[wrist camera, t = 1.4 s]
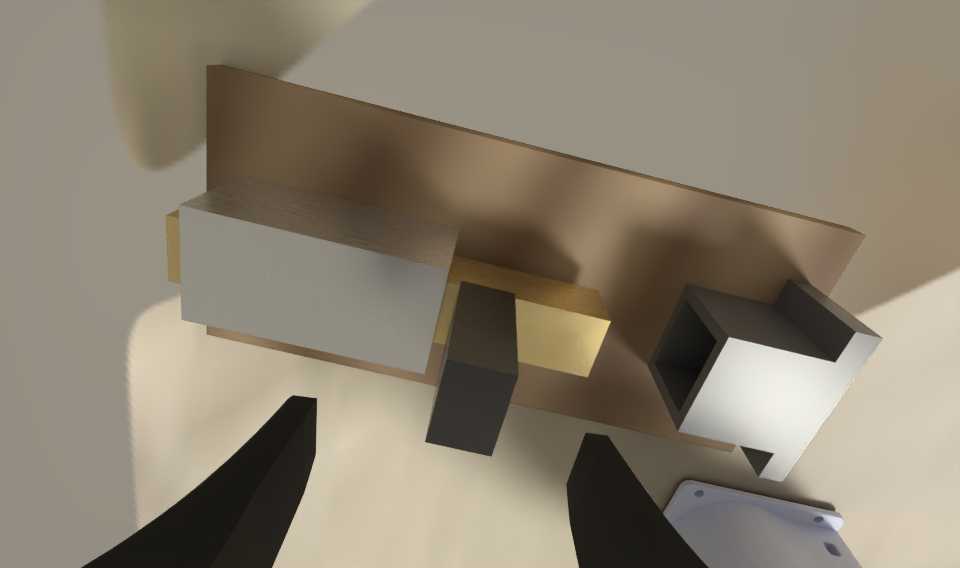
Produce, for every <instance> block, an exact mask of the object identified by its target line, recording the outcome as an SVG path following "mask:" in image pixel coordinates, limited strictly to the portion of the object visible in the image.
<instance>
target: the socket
mask: <svg viewBox="0 0 960 568" xmlns="http://www.w3.org/2000/svg"><path fill="white" fill-rule="evenodd" d="M882 339H883V338H882V337H880V336H879V335H878V334H876V333H875V332H874V331H872V330H871V329H870V328H868V327H867V326H866V325H864V324H863V323H862V322H860V321H859V320H858V319H856V318H855V317H854V316H852V315H851V314H850V313H848V312H847V311H846V310H844V309H843V308H842V307H840V306H839V305H838V304H836V303H835V302H833V301H832V300H831V299H830V298H829V297H827V296H826V295H825V294H823V293H822V292H821V291H819V290H818V289H817V288H815V287H814V286H813V285H811V284H809V283H805V282H801V281H797V280H793V279H788V281H787V282H786V284H785V286H784V288H783V289H782V291H781V293H780V295H779V296H778V298H777V300H776V302H775V303H774V305H772V304H768V303H764V302H760V301H756V300H752V299H748V298H744V297H740V296H736V295H732V294H727V293H723V292H719V291H715V290H711V289H707V288H703V287H699V286H695V285H691V284H686V286H685V288H684V290H683V292H682V294H681V296H680V298H679V301H678V303H677V305H676V307H675V309H674V311H673V313H672V315H671V317H670V320H669V322H668V324H667V326H666V328H665V330H664V332H663V334H662V336H661V339H660V341H659V343H658V345H657V347H656V349H655V351H654V353H653V356H652V358H651V360H650V362H649V364H648V368H649V370H650V372H651V374H652V377H653V379H654V381H655V383H656V385H657V387H658V390H659V392H660V394H661V396H662V398H663V401H664V403H665V405H666V407H667V409H668V412H669V414H670V416H671V418H672V420H673V422H674V425H675V427H676V429H677V431H678V432H682V433H686V434H691V435H695V436H700V437H704V438H708V439H713V440H717V441H722V442H726V443H731V444H735V445H739V446H740V447H741V448H742V450H743V452H744V453H745V455H746V457H747V458H748V460H749V462H750V463H751V465H752V467H753V468H754V470H755V472H756V473H757V475H758V477H761V478H766V479H770V480H775V481H779V482H782V481H783V480H784V478H785V477H786V475H787V474H788V473H789V471H790V470H791V468H792V467H793V465H794V464H795V463H796V461H797V460H798V458H799V457H800V456H801V454H802V453H803V451H804V450H805V448H806V447H807V446H808V444H809V443H810V441H811V440H812V439H813V437H814V436H815V434H816V433H817V431H818V430H819V429H820V427H821V426H822V424H823V423H824V422H825V420H826V419H827V417H828V416H829V414H830V413H831V412H832V410H833V409H834V407H835V406H836V404H837V403H838V402H839V400H840V399H841V397H842V396H843V395H844V393H845V392H846V390H847V389H848V387H849V386H850V385H851V383H852V382H853V380H854V379H855V378H856V376H857V375H858V373H859V372H860V370H861V369H862V368H863V366H864V365H865V363H866V362H867V361H868V359H869V358H870V356H871V355H872V353H873V352H874V351H875V349H876V348H877V346H878V345H879V344H880V342H881V341H882Z"/></svg>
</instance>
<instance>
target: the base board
mask: <svg viewBox="0 0 960 568" xmlns="http://www.w3.org/2000/svg"><path fill="white" fill-rule="evenodd" d="M242 175H247V176H251V177H255V178H259V179H263V180H267V181H272V182H276V183H280V184H284V185H288V186H292V187H296V188H300V189H304V190H308V191H312V192H316V193H320V194H324V195H329V196H333V197H337V198H341V199H345V200H349V201H353V202H357V203H361V204H365V205H369V206H373V207H377V208H381V209H385V210H390V211H394V212H398V213H402V214H406V215H410V216H414V217H418V218H422V219H426V220H430V221H434V222H438V223H442V224H447V225H451V226H455V227H459V228H460V229H459V234H458V238H457V242H456V246H455V250H454V256H458V257H463V258H467V259H471V260H475V261H479V262H483V263H487V264H492V265H496V266H500V267H504V268H508V269H512V270H516V271H520V272H525V273H529V274H533V275H537V276H541V277H545V278H549V279H554V280H558V281H562V282H566V283H570V284H574V285H578V286H582V287H587V288H591V289H595V290H599V293H600V295H601V298H602V300H603V303H604V305H605V308H606V310H607V313H608V316H609V318H610V321H611V322H610V324H609V327H608V329H607V332H606V334H605V337H604V339H603V341H602V344H601V346H600V349H599V351H598V353H597V356H596V358H595V361H594V363H593V366H592V368H591V370H590V373H589V375H588V377H584V376H579V375H575V374H570V373H566V372H562V371H557V370H553V369H549V368H544V367H540V366H536V365H531V364H527V363H523V362H518V371H519V376H518V379H517V382H516V385H515V388H514V391H513V394H512V397H511V400H510V403H514V404H519V405H523V406H528V407H532V408H537V409H541V410H545V411H550V412H554V413H559V414H563V415H568V416H572V417H577V418H581V419H585V420H590V421H594V422H599V423H603V424H608V425H612V426H617V427H621V428H626V429H630V430H634V431H639V432H643V433H648V434H652V435H657V436H661V437H666V438H670V439H674V440H679V441H683V442H688V443H692V444H697V445H701V446H706V447H710V448H715V449H719V450H723V451H728V452H732V450H733V449H734V447H735V446H736V445H735V444H731V443H726V442H722V441H717V440H713V439H708V438H704V437H700V436H695V435H691V434H686V433H682V432H678V431H677V429H676V427H675V425H674V422H673V420H672V418H671V416H670V414H669V412H668V409H667V407H666V405H665V403H664V401H663V398H662V396H661V394H660V392H659V390H658V387H657V385H656V383H655V381H654V379H653V377H652V374H651V372H650V370H649V368H648V364H649V362H650V360H651V358H652V356H653V353H654V351H655V349H656V347H657V345H658V343H659V341H660V339H661V336H662V334H663V332H664V330H665V328H666V326H667V324H668V322H669V320H670V317H671V315H672V313H673V311H674V309H675V307H676V305H677V303H678V301H679V298H680V296H681V294H682V292H683V290H684V288H685V286H686V284H691V285H695V286H699V287H703V288H707V289H711V290H715V291H719V292H723V293H727V294H732V295H736V296H740V297H744V298H748V299H752V300H756V301H760V302H764V303H768V304H772V305H774V303H775V302H776V300H777V298H778V296H779V295H780V293H781V291H782V289H783V288H784V286H785V284H786V282H787V281H788V279H793V280H797V281H801V282H805V283H809V284H811V285H813V286H814V287H815V288H817V289H818V290H819V291H821V292H822V293H823V294H825V295H826V296H827V297H828V296H829V294H830V293H831V291H832V289H833V288H834V286H835V285H836V283H837V281H838V280H839V278H840V277H841V275H842V273H843V272H844V270H845V269H846V266H847V265H848V264H849V262H850V260H851V259H852V257H853V256H854V254H855V252H856V251H857V249H858V248H859V246H860V244H861V243H862V241H863V240H864V238H865V236H866V235H863V234H862V233H860V232H858V231H856V230H854V229H852V228H849V227H845V226H842V225H838V224H834V223H830V222H826V221H822V220H818V219H815V218H811V217H807V216H803V215H799V214H795V213H792V212H788V211H784V210H779V209H776V208H772V207H768V206H764V205H761V204H756V203H753V202H749V201H745V200H741V199H737V198H733V197H730V196H726V195H721V194H718V193H714V192H710V191H706V190H703V189H699V188H695V187H691V186H687V185H683V184H679V183H676V182H672V181H667V180H664V179H660V178H656V177H652V176H648V175H645V174H641V173H636V172H633V171H629V170H625V169H621V168H618V167H614V166H609V165H605V164H602V163H598V162H594V161H590V160H586V159H583V158H578V157H575V156H571V155H567V154H563V153H559V152H556V151H552V150H548V149H544V148H540V147H536V146H532V145H529V144H525V143H521V142H517V141H513V140H509V139H505V138H501V137H498V136H494V135H490V134H486V133H482V132H478V131H474V130H470V129H466V128H463V127H459V126H455V125H451V124H447V123H443V122H440V121H436V120H432V119H428V118H424V117H420V116H416V115H412V114H409V113H404V112H401V111H397V110H393V109H389V108H385V107H382V106H378V105H374V104H370V103H366V102H362V101H358V100H355V99H351V98H347V97H343V96H339V95H335V94H331V93H328V92H324V91H320V90H316V89H312V88H308V87H304V86H300V85H296V84H293V83H289V82H285V81H281V80H277V79H273V78H270V77H266V76H262V75H258V74H254V73H250V72H246V71H242V70H239V69H235V68H231V67H227V66H223V65H207V192H208V191H210V190H212V189H214V188H217V187H219V186H221V185H223V184H225V183H227V182H229V181H231V180H234V179H236V178H238V177H240V176H242ZM207 335H212V336H216V337H220V338H225V339H229V340H234V341H238V342H243V343H247V344H252V345H256V346H261V347H265V348H269V349H274V350H278V351H283V352H287V353H292V354H296V355H301V356H305V357H309V358H314V359H318V360H323V361H327V362H332V363H336V364H341V365H345V366H350V367H354V368H358V369H363V370H367V371H372V372H376V373H381V374H385V375H390V376H394V377H399V378H403V379H407V380H412V381H416V382H421V383H425V384H430V385H434V386H437V381H438V376H439V371H440V366H441V362H442V357H443V352H444V347H445V344H440V343H436V342H432V346H431V350H430V354H429V358H428V362H427V366H426V370H425V374H421V373H416V372H412V371H407V370H403V369H398V368H394V367H390V366H385V365H381V364H376V363H372V362H367V361H363V360H359V359H354V358H350V357H345V356H341V355H336V354H332V353H328V352H323V351H319V350H314V349H310V348H305V347H301V346H297V345H292V344H288V343H283V342H279V341H274V340H270V339H266V338H261V337H257V336H252V335H248V334H243V333H239V332H235V331H230V330H226V329H221V328H217V327H212V326H208V325H207Z"/></svg>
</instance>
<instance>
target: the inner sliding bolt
mask: <svg viewBox="0 0 960 568" xmlns="http://www.w3.org/2000/svg"><path fill="white" fill-rule="evenodd" d="M166 230H167V256H168V281H171V282H176V283H180V284H181V271H180V232H179V209H178V210H176V211H174V212H172V213H170V214H168V215H166ZM610 322H611V321H610V318H609V316H608V313H607V310H606V308H605V305H604V303H603V300H602V298H601V295H600V293H599V290H595V289H591V288H587V287H582V286H578V285H574V284H570V283H566V282H562V281H558V280H554V279H549V278H545V277H541V276H537V275H533V274H529V273H525V272H520V271H516V270H512V269H508V268H504V267H500V266H496V265H492V264H487V263H483V262H479V261H475V260H471V259H467V258H463V257H458V256H454V255H453V258H452V262H451V266H450V269H449V273H448V277H447V282H446V286H445V290H444V294H443V299H442V303H441V307H440V311H439V316H438V320H437V324H436V328H435V332H434V337H433V341H432V342H436V343H440V344H445V347H444V352H443V357H442V362H441V366H440V371H439V376H438V381H437V386H436V391H435V396H434V401H433V406H432V411H431V416H430V421H429V426H428V430H427V435H426V440H425V442H427V443H432V444H436V445H441V446H446V447H450V448H455V449H459V450H464V451H469V452H473V453H478V454H483V455H487V456H492V453H493V450H494V447H495V444H496V441H497V438H498V435H499V432H500V429H501V426H502V424H503V421H504V418H505V415H506V412H507V409H508V406H509V403H510V400H511V397H512V394H513V391H514V388H515V385H516V382H517V379H518V376H519V371H518V362H523V363H527V364H531V365H536V366H540V367H544V368H549V369H553V370H557V371H562V372H566V373H570V374H575V375H579V376H584V377H588V375H589V373H590V370H591V368H592V366H593V363H594V361H595V358H596V356H597V353H598V351H599V349H600V346H601V344H602V341H603V339H604V337H605V334H606V332H607V329H608V327H609V324H610Z"/></svg>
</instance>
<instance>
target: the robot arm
mask: <svg viewBox="0 0 960 568" xmlns="http://www.w3.org/2000/svg"><path fill="white" fill-rule="evenodd" d="M316 418H317V398H310V397H302V396H294V395H293V396H291V397H290V398H288V400H287V401H286V402H285V403H284V404H283V405H282V406H281V407H280V408H279V409H278V411H277V412H276V413H275V414H274V415H273V416H272V417H271V418H270V419H269V420H268V421H267V422H266V423H265V424H264V425H263V426H262V427H261V428H260V429H259V430H258V431H257V433H256V434H255V435H253V436H252V437H251V438H250V439H249V440H248V441H247V442H246V443H245V444H244V445H243V446H242V447H241V448H240V449H239V450H238V451H237V452H236V453H235V454H234V455H233V456H232V457H231V458H229V459H228V460H227V461H226V462H225V463H224V464H223V465H222V466H220V467H219V468H218V469H217V470H216V471H215V472H214V473H212V474H211V475H210V476H209V477H208V478H207V479H206V480H204V481H203V482H202V483H201V484H200V485H198V486H197V487H196V488H195V489H194V490H192V491H191V492H190V493H189V494H187V495H186V496H185V497H184V498H182V499H181V500H180V501H179V502H177V503H176V504H175V505H173V506H172V507H171V508H169V509H168V510H167V511H165V512H164V513H163V514H161V515H160V516H159V517H157V518H156V519H154V520H153V521H152V522H150V523H149V524H147V525H146V526H144V527H143V528H142V529H140V530H139V531H137V532H136V533H135V534H133V535H132V536H130V537H129V538H127V539H126V540H124V541H123V542H121V543H120V544H118V545H117V546H115V547H114V548H112V549H111V550H109V551H107V552H106V553H104V554H102V555H101V556H99V557H98V558H96V559H94V560H93V561H91V562H89V563H88V564H86V565H85V566H83V567H81V568H272V566H273V564H274V562H275V559H276V557H277V555H278V552H279V550H280V548H281V545H282V543H283V541H284V539H285V536H286V534H287V532H288V529H289V527H290V525H291V522H292V520H293V518H294V515H295V513H296V511H297V508H298V506H299V504H300V501H301V499H302V496H303V494H304V491H305V488H306V485H307V482H308V479H309V475H310V472H311V469H312V465H313V462H314V459H315V455H316ZM698 490H699V491H698ZM567 497H568V509H569V518H570V525H571V531H572V536H573V540H574V545H575V550H576V555H577V560H578V564H579V568H862V567H861V566H860V564H859V563H858V561H857V560H856V558H855V557H854V556H853V554H852V553H851V551H850V550H849V548H848V547H847V546H846V544H845V543H844V541H843V540H842V538H841V537H840V535H839V534H838V533H837V531H838V530H839V529H840V528H841V526H842V525H843V523H844V519H843V518H842V516H841V515H840V514H839V513H838V512H834V511H830V510H825V509H821V508H816V507H811V506H807V505H802V504H798V503H793V502H789V501H784V500H780V499H775V498H771V497H766V496H761V495H757V494H752V493H748V492H743V491H739V490H734V489H730V488H725V487H720V486H716V485H711V484H707V483H702V482H698V481H693V480H686V481H684V482H682V483H681V484H680V485H679V487H678V489H677V490H676V492H675V494H674V496H673V497H672V499H671V501H670V503H669V504H668V506H667V508H666V509H665V511H664V513H662V512H661V511H660V509H659V508H658V507H657V505H656V504H655V502H654V501H653V500H652V498H651V497H650V496H649V494H648V493H647V492H646V490H645V489H644V487H643V486H642V485H641V483H640V482H639V480H638V479H637V478H636V476H635V475H634V473H633V472H632V470H631V469H630V468H629V466H628V465H627V463H626V462H625V460H624V459H623V457H622V456H621V454H620V453H619V452H618V450H617V449H616V447H615V446H614V444H613V443H612V441H611V440H610V439H609V437H608V436H606V435H598V434H590V433H586V434H585V436H584V439H583V442H582V444H581V447H580V450H579V452H578V455H577V458H576V460H575V463H574V466H573V468H572V471H571V474H570V476H569V479H568V482H567Z"/></svg>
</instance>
